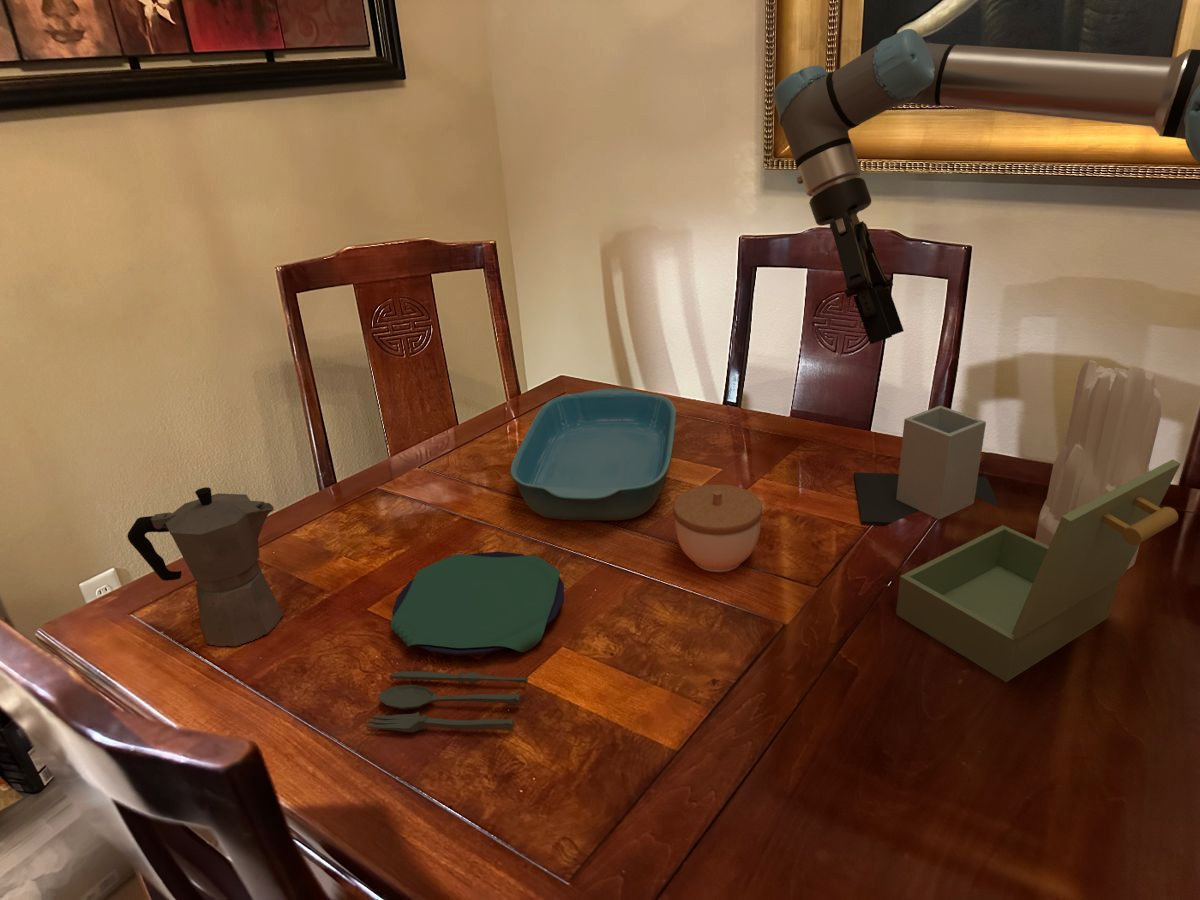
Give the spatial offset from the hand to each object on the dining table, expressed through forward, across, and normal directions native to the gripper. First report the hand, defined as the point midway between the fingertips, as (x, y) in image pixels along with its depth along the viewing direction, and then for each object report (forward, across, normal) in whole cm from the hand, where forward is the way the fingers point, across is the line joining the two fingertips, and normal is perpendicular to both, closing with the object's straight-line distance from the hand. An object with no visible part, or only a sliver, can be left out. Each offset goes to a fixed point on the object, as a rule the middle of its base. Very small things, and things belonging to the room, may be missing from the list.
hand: (888, 337), depth 113 cm
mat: (+23, 0, -2) cm, 23 cm away
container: (+23, 0, -1) cm, 23 cm away
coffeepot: (+6, +54, -72) cm, 90 cm away
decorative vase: (+32, +6, +14) cm, 36 cm away
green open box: (+33, +23, +4) cm, 40 cm away
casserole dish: (+5, +7, -45) cm, 45 cm away
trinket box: (+19, +22, -25) cm, 38 cm away
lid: (+25, +30, +15) cm, 42 cm away
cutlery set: (+16, +46, -46) cm, 67 cm away
